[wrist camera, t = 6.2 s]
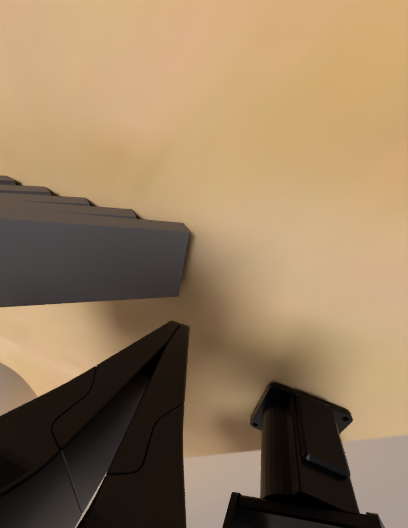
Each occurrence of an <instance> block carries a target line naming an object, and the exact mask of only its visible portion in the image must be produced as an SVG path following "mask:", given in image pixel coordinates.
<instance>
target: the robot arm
mask: <svg viewBox="0 0 408 528" xmlns="http://www.w3.org/2000/svg"><path fill="white" fill-rule="evenodd" d="M189 330H190V327H189V326H187V325H184V324H181V325H180V323H178V322H175V321H170V322H168V323H167V324H165V325H163V326H162V327H160V328H158V329H157V330H155V331H153V332H152V333H150V334H148V335H147V336H145V337H143V338H142V339H140V340H138V341H137V342H135V343H133V344H132V345H130V346H128V347H127V348H125V349H123V350H122V351H120V352H118V353H117V354H115V355H113V356H111V357H110V358H108V359H106V360H105V361H103V362H101V363H100V364H98V365H97V367H96V366H95V367H93V368H91V369H90V370H88V371H86V372H85V373H83V374H81V375H79V376H78V377H76V378H74V379H72V380H71V381H69V382H67V383H65V384H63V385H61V386H59V387H57V388H55V389H53V390H51V391H50V392H48V393H46V394H44V395H42V396H40V397H37V398H36V399H33V400H32V401H30V402H28V403H25V404H23V405H21V406H19V407H18V408H15V409H13V410H11V411H9V412H8V413H5V414H3V415H1V416H0V528H74V527H75V526H76V524H77V523H78V521H79V519H80V517H81V516H82V513H83V512H84V510H85V509H86V507H87V505H88V503H89V501H90V500H91V498H92V496H93V495H94V493H95V491H96V490H97V487H98V486H99V484H100V483H101V481H102V479H103V477H104V476H105V474H106V472H107V474H106V476H105V478H104V480H103V482H102V484H101V486H100V488H99V490H98V492H97V494H96V496H95V498H94V500H93V501H92V503H91V505H90V507H89V509H88V510H87V512H86V514H85V515H84V517H83V518H82V520H81V521H80V523H79V525H78V526H77V528H186V510H185V489H184V465H183V417H184V401H185V387H186V373H187V358H188V344H189ZM352 421H353V419H352V416H351V413H350V412H349V411H347V410H345V409H342V408H340V407H337V406H334V405H332V404H329V403H327V402H324V401H321V400H319V399H316V398H314V397H311V396H308V395H306V394H303V393H300V392H298V391H295V390H293V389H290V388H287V387H285V386H282V385H280V384H277V383H270V384H269V386H268V387H267V389H266V391H265V393H264V395H263V397H262V398H261V400H260V402H259V404H258V406H257V407H256V409H255V411H254V413H253V415H252V417H251V419H250V424H251V426H252V427H254V428H257V429H259V430H261V431H262V441H261V493H260V494H261V495H260V498H256V497H249V496H243V495H241V494H240V493H236V492H232V494H231V498H230V501H229V505H228V509H227V513H226V516H225V520H224V524H223V528H385V527H384V526H383V524H382V521H381V520H380V518H379V515H378V514H375V513H368V512H366V514H360V512H359V509H358V505H357V501H356V498H355V494H354V490H353V487H352V483H351V479H350V470H349V466H348V463H347V459H346V456H345V452H344V449H343V445H342V441H341V438H340V433H341V432H342V431H343V430H344V429H345V428H346V427H347V426H348V425H349V424H350V423H351V422H352Z"/></svg>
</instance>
